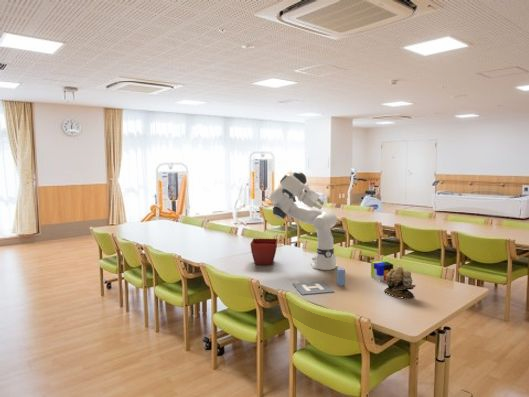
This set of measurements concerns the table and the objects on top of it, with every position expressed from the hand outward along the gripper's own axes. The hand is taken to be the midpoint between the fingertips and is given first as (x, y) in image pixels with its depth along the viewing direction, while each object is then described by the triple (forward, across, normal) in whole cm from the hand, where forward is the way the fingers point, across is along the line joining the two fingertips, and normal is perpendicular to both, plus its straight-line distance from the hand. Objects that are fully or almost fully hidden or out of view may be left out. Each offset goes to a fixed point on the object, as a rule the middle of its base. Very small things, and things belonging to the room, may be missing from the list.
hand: (322, 206), depth 239 cm
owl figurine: (+65, +12, -12) cm, 68 cm away
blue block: (+38, +4, -33) cm, 51 cm away
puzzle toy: (+60, -16, -21) cm, 65 cm away
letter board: (+25, +14, -41) cm, 50 cm away
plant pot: (-7, -33, -73) cm, 81 cm away
